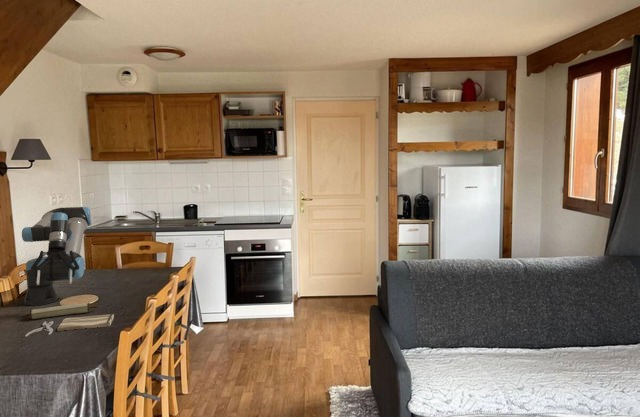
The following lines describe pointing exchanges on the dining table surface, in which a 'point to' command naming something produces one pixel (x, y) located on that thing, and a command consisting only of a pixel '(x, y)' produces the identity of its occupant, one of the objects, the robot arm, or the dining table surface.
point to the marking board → (86, 322)
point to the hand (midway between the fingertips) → (54, 283)
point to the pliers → (45, 325)
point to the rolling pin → (59, 310)
